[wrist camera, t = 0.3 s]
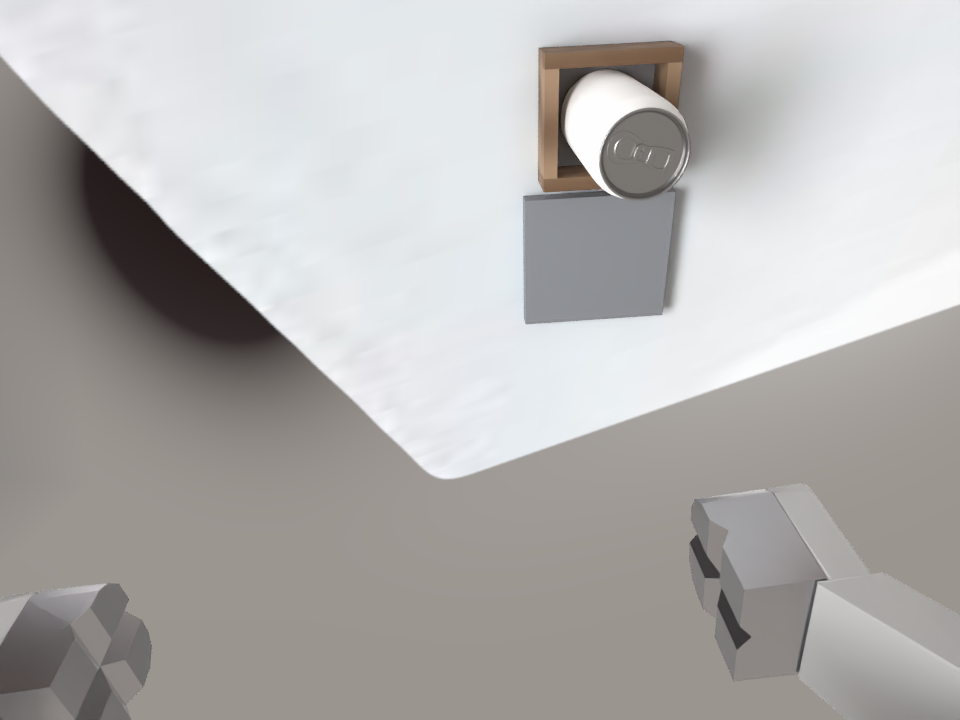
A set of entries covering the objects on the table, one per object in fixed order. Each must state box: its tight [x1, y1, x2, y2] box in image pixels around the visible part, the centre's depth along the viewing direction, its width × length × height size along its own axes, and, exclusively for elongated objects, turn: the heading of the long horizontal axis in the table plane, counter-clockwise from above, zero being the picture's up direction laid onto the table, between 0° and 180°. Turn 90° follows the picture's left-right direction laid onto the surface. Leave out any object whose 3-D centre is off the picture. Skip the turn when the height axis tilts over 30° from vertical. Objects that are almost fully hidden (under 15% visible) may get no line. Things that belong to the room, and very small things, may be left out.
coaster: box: [523, 188, 676, 324], centre depth 57 cm, size 11×12×1 cm
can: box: [561, 69, 690, 201], centre depth 46 cm, size 6×6×12 cm
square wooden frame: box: [538, 41, 684, 192], centre depth 50 cm, size 10×10×3 cm
